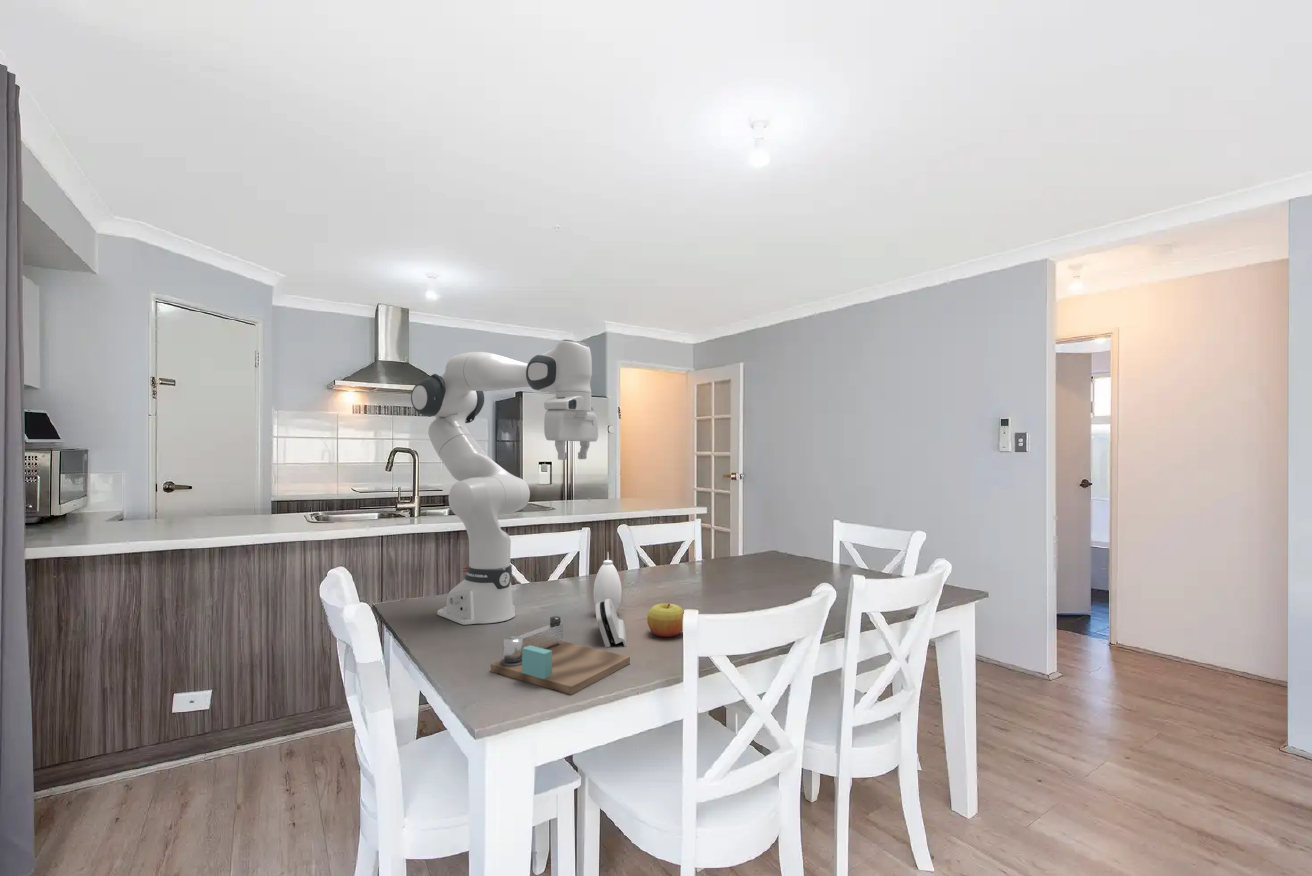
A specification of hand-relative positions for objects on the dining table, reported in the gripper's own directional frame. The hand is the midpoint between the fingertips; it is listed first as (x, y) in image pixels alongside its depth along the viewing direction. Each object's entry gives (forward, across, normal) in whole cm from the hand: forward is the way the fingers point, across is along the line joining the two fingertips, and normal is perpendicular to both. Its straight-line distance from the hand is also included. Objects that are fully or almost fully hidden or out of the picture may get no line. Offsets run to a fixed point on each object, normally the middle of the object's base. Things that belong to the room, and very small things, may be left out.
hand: (572, 459), depth 152 cm
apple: (+45, -13, +21) cm, 51 cm away
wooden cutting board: (+44, +18, +9) cm, 49 cm away
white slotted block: (+45, -6, +9) cm, 46 cm away
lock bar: (+42, +17, +1) cm, 46 cm away
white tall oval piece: (+45, -22, -1) cm, 50 cm away
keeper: (+43, +27, +9) cm, 52 cm away
